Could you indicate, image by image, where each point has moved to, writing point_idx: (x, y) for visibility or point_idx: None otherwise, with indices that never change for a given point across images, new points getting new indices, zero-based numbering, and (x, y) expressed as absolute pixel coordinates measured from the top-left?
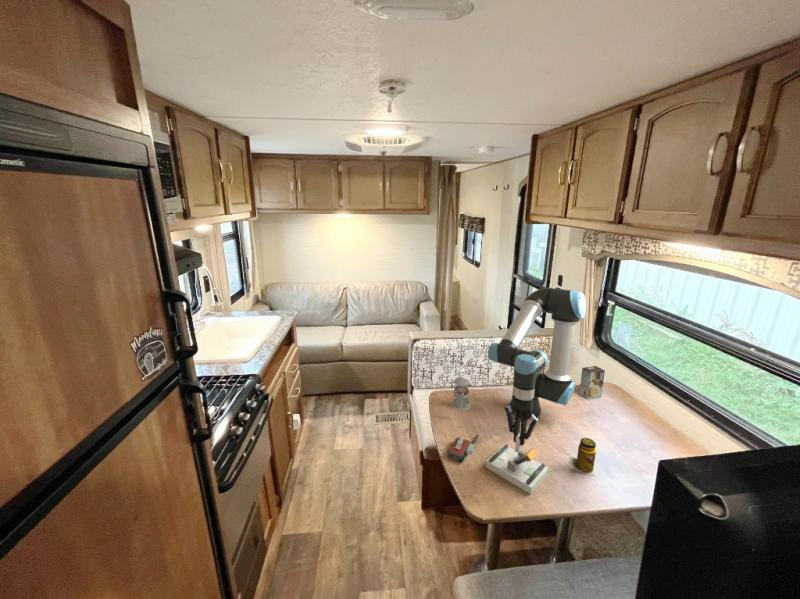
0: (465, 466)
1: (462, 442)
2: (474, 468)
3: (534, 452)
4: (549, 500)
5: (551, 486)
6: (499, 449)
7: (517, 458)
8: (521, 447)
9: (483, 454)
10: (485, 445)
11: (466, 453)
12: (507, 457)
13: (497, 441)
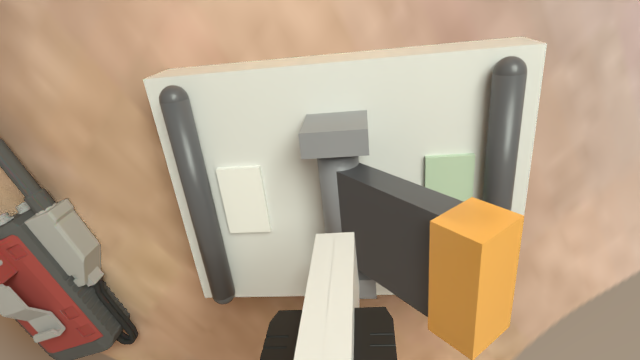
0: (164, 325)
1: (13, 297)
2: (197, 309)
3: (502, 251)
4: (598, 228)
5: (578, 124)
6: (169, 157)
7: (341, 215)
8: (354, 260)
9: (135, 201)
10: (69, 124)
11: (93, 286)
12: (263, 193)
13: (66, 15)
